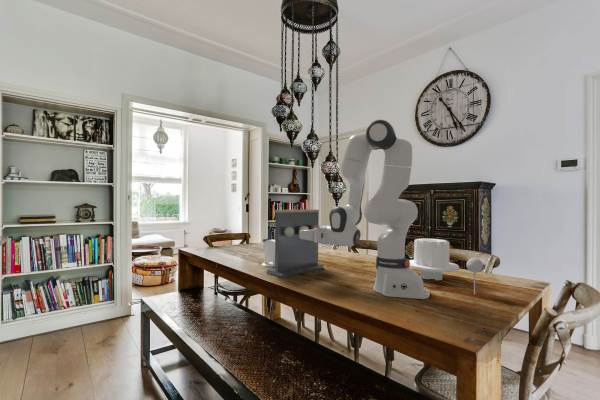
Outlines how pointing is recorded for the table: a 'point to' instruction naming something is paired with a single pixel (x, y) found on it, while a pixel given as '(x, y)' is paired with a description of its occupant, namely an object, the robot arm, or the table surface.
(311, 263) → the button panel
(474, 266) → the lollipop
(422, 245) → the white brimmed cylinder
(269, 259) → the metal pitcher
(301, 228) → the cream button
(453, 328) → the table surface
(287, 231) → the sage button
